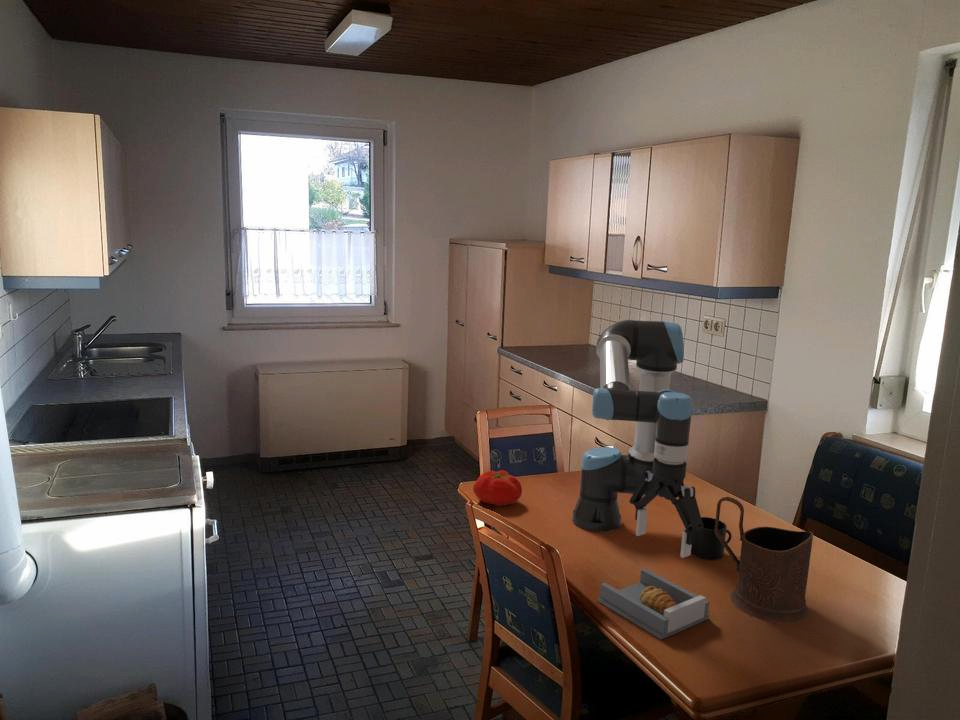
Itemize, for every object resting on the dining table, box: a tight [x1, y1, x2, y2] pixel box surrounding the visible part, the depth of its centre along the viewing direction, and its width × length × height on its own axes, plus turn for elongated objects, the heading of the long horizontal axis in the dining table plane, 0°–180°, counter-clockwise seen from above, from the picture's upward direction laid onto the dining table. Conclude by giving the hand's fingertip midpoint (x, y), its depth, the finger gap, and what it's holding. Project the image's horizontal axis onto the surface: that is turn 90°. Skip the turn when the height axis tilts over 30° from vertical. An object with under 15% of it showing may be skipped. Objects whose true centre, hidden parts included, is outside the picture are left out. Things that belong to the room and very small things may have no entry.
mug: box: [691, 516, 732, 561], centre depth 211 cm, size 9×12×9 cm
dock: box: [597, 568, 710, 640], centre depth 178 cm, size 20×17×6 cm
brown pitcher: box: [715, 496, 814, 625], centre depth 183 cm, size 18×24×25 cm
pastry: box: [640, 586, 677, 615], centre depth 177 cm, size 9×7×4 cm
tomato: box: [472, 469, 523, 507], centre depth 243 cm, size 14×16×10 cm
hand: (662, 545), depth 175 cm, fingers open, 13 cm apart
